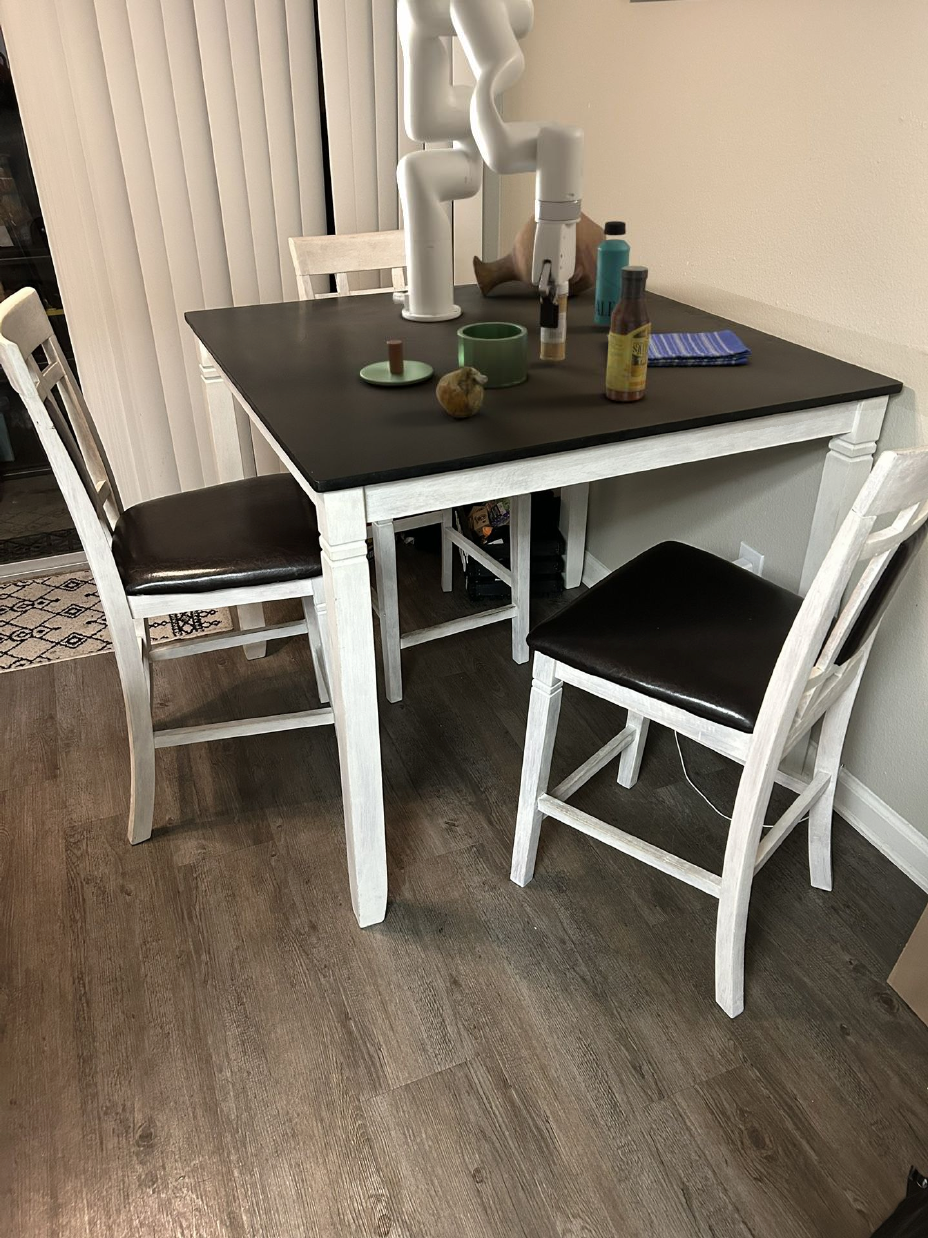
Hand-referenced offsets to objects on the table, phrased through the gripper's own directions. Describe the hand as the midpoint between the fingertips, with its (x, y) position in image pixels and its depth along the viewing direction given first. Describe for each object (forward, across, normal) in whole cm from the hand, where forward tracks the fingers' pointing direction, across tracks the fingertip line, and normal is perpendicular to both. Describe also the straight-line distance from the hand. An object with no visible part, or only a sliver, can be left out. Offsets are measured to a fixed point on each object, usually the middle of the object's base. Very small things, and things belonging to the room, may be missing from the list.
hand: (553, 322), depth 160 cm
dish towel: (+7, -14, +20) cm, 25 cm away
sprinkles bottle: (+7, 0, 0) cm, 7 cm away
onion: (+7, +29, -5) cm, 31 cm away
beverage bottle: (+8, -27, +4) cm, 28 cm away
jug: (+9, -50, -19) cm, 55 cm away
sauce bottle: (+7, +13, +17) cm, 22 cm away
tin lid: (+7, +16, -23) cm, 29 cm away
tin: (+7, +10, -7) cm, 15 cm away
